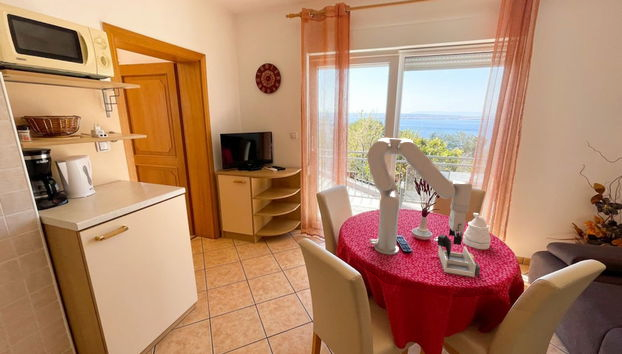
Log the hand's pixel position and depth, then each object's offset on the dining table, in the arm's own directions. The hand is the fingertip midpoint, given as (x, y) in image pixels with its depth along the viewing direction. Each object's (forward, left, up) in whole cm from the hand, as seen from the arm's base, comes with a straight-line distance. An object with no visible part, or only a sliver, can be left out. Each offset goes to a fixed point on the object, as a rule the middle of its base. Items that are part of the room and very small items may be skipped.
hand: (454, 239), depth 122 cm
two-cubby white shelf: (0, -4, -11) cm, 12 cm away
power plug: (-4, +1, -11) cm, 12 cm away
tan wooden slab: (+8, 0, -11) cm, 14 cm away
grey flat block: (+8, -9, -11) cm, 16 cm away
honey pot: (+17, +24, -11) cm, 31 cm away
